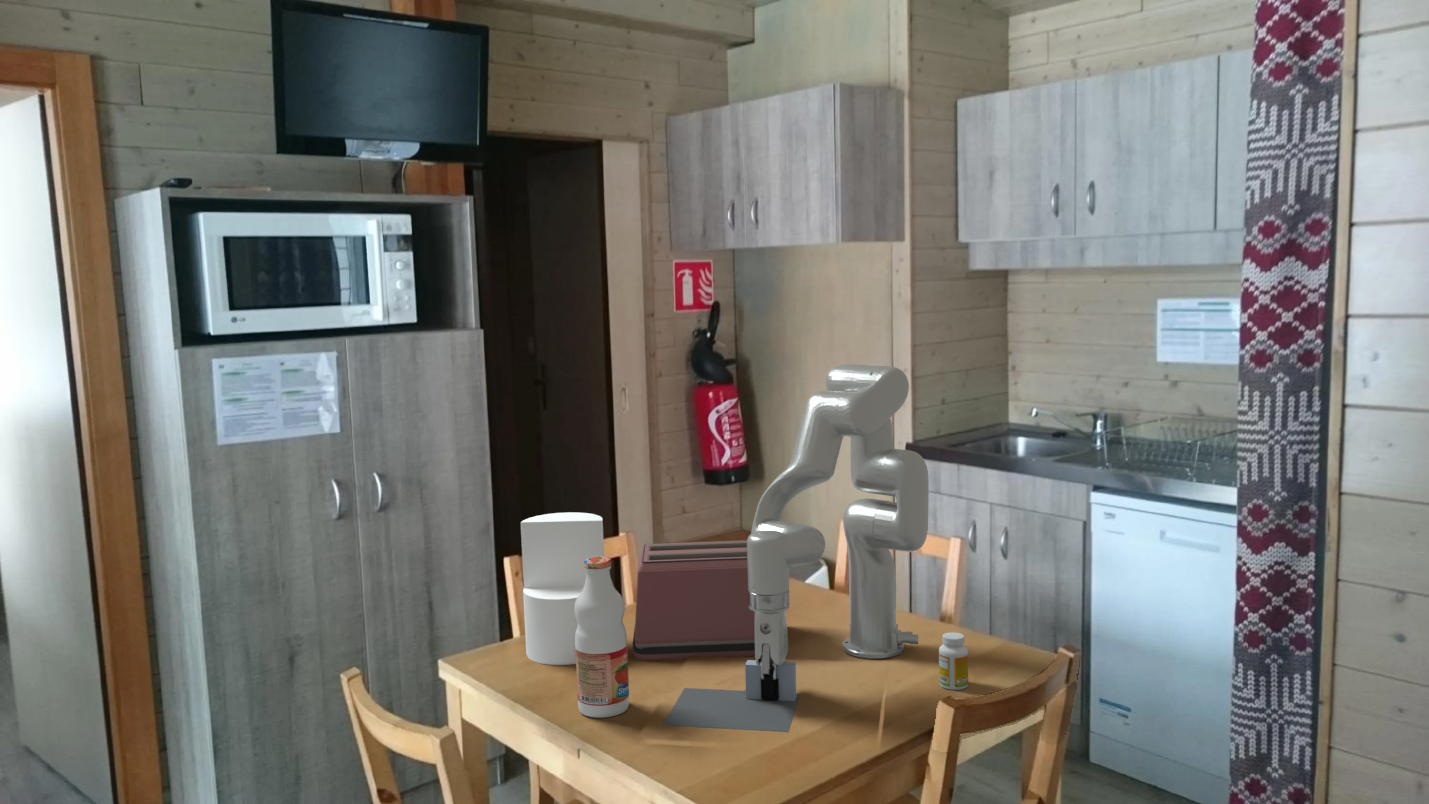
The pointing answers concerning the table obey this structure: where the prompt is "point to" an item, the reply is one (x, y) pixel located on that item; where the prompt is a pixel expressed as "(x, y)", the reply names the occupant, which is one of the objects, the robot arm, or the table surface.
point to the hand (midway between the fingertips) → (771, 695)
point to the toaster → (693, 601)
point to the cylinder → (556, 580)
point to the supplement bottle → (953, 662)
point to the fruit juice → (601, 644)
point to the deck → (784, 674)
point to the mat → (730, 711)
